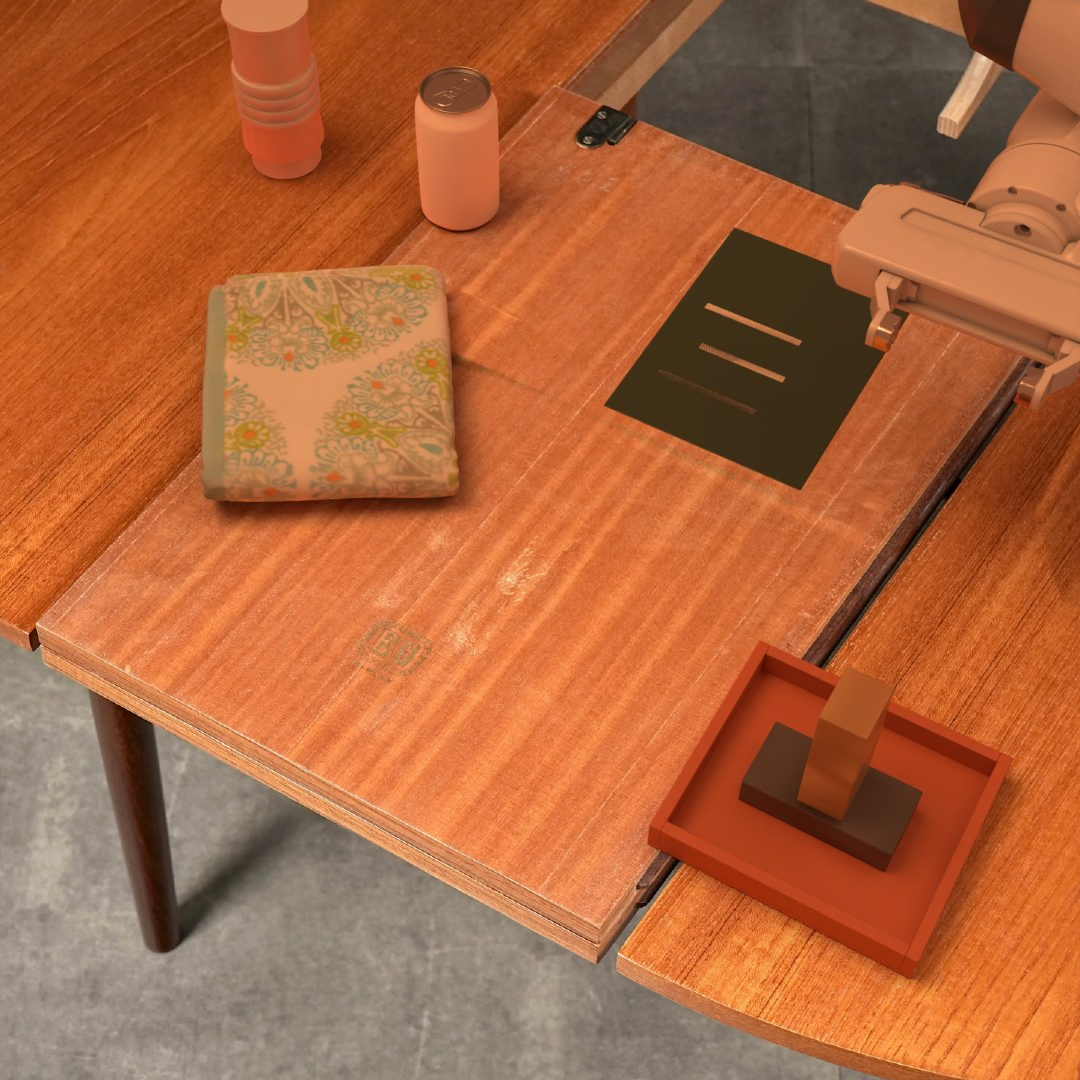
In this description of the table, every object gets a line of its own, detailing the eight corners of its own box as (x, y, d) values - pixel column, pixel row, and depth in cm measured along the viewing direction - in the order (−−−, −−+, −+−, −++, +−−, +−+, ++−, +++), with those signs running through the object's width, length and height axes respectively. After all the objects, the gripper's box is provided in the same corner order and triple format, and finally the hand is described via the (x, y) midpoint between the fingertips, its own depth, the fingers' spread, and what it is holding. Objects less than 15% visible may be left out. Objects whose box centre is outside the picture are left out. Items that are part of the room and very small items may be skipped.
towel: (449, 295, 134) (446, 247, 130) (461, 508, 121) (458, 463, 117) (217, 306, 133) (207, 259, 129) (204, 522, 120) (192, 477, 116)
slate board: (916, 309, 133) (919, 298, 132) (798, 501, 122) (800, 490, 121) (732, 237, 138) (734, 226, 137) (602, 415, 126) (602, 405, 125)
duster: (916, 809, 106) (956, 707, 96) (884, 872, 104) (922, 774, 94) (771, 739, 109) (795, 633, 99) (737, 799, 107) (758, 696, 97)
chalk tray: (1005, 776, 108) (1013, 757, 106) (910, 979, 100) (918, 962, 98) (755, 660, 114) (759, 639, 111) (646, 843, 105) (649, 825, 103)
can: (404, 209, 139) (395, 91, 130) (457, 169, 142) (452, 51, 133) (463, 245, 137) (458, 128, 127) (515, 203, 140) (514, 85, 130)
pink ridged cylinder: (300, 117, 146) (279, -33, 134) (342, 162, 143) (325, 11, 131) (230, 148, 144) (203, -3, 132) (271, 194, 140) (247, 44, 128)
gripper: (887, 137, 108) (796, 270, 101) (1204, 246, 102) (1131, 396, 95) (872, 211, 113) (785, 343, 106) (1173, 320, 107) (1102, 468, 100)
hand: (951, 370), depth 100 cm, fingers open, 8 cm apart
